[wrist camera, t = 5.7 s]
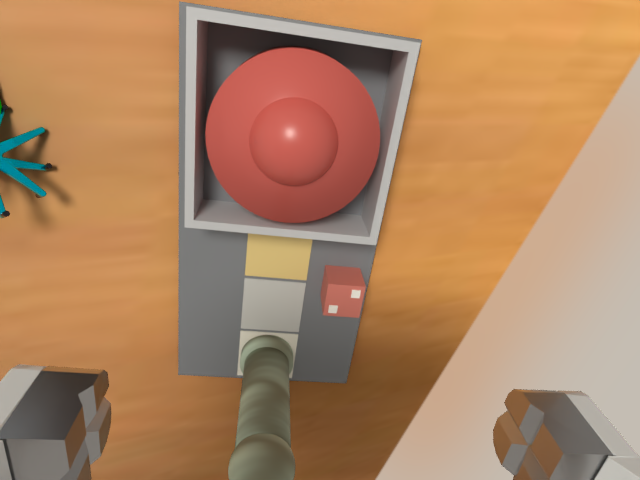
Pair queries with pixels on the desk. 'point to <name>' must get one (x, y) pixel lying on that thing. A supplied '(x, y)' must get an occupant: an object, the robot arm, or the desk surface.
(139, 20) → the desk surface
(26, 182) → the stick construction toy
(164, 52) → the desk surface
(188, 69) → the game board
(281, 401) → the pawn
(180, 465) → the desk surface
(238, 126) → the dome
